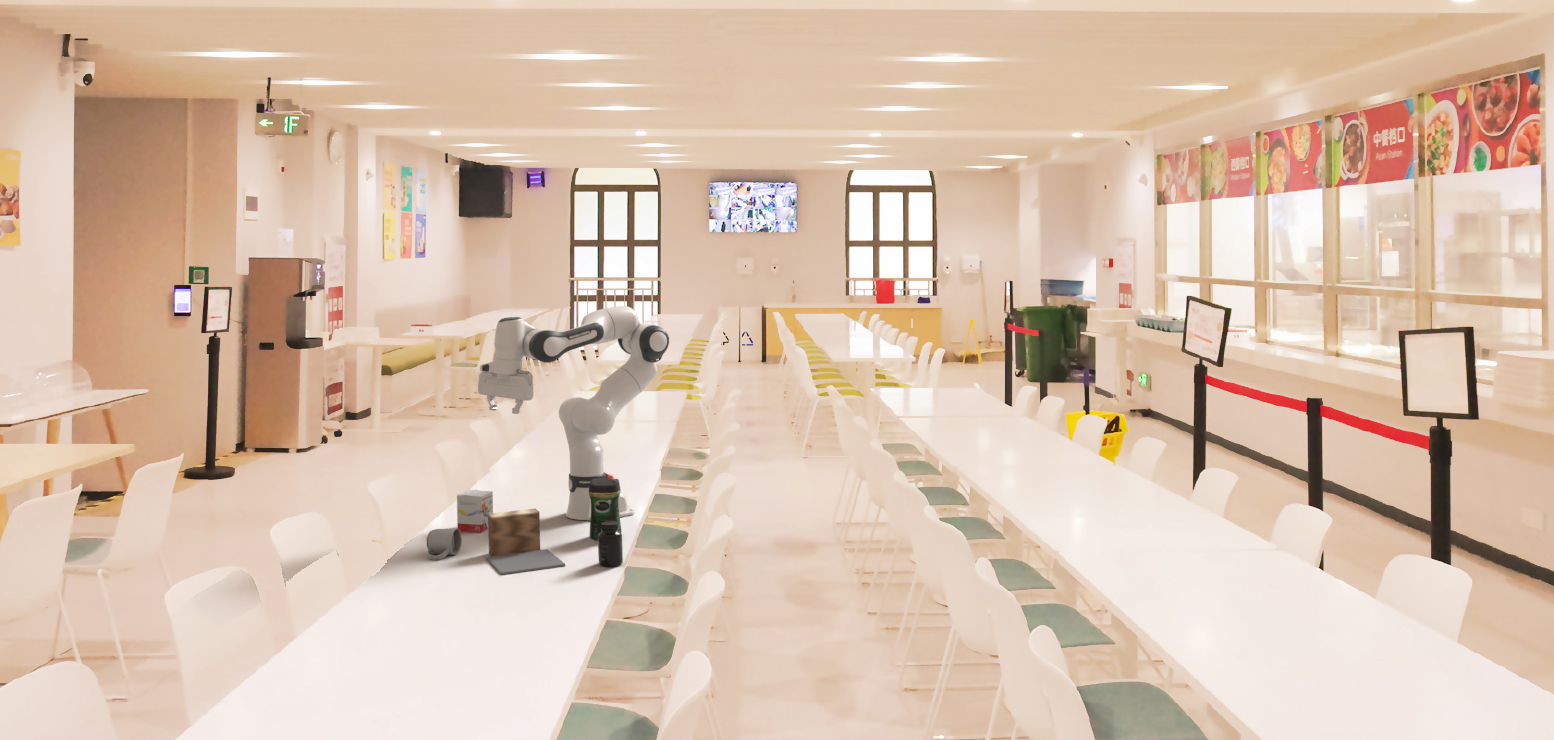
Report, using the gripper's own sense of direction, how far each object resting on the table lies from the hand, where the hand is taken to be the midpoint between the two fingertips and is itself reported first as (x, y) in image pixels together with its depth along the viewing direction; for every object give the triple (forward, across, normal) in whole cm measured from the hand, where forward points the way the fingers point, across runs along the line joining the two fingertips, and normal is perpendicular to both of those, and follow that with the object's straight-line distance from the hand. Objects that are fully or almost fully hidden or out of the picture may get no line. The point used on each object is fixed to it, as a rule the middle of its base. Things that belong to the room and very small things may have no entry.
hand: (504, 412), depth 341 cm
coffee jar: (+36, -36, -9) cm, 51 cm away
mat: (+38, -32, +23) cm, 55 cm away
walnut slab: (+38, -22, +16) cm, 47 cm away
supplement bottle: (+37, -54, +12) cm, 67 cm away
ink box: (+38, +6, +2) cm, 39 cm away
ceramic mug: (+40, -6, +28) cm, 50 cm away
